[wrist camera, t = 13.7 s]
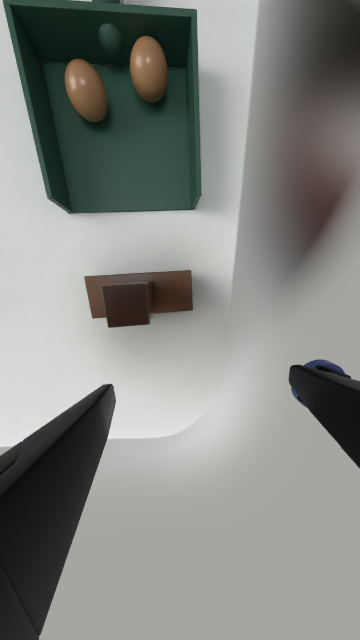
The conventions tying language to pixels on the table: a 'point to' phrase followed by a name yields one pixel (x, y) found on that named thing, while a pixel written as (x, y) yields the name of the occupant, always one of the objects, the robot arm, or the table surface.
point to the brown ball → (149, 69)
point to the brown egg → (86, 90)
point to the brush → (138, 296)
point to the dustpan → (110, 105)
